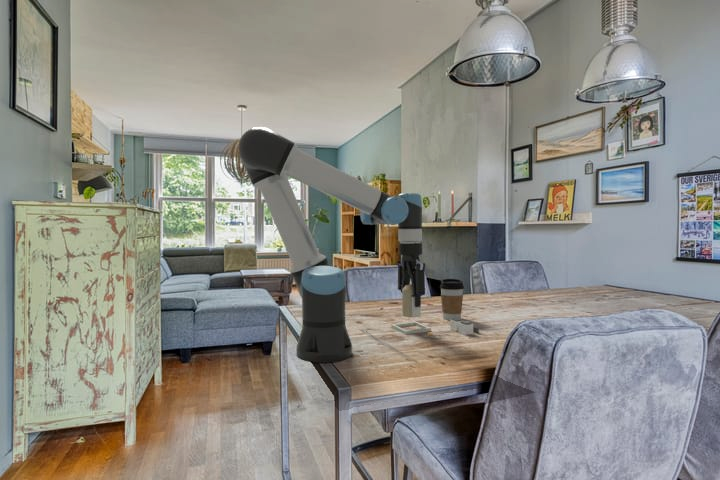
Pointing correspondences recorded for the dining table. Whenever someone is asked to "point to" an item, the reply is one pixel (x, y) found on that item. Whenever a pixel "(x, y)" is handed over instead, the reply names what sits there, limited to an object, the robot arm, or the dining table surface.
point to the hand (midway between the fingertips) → (411, 314)
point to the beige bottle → (407, 300)
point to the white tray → (423, 329)
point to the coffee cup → (451, 298)
